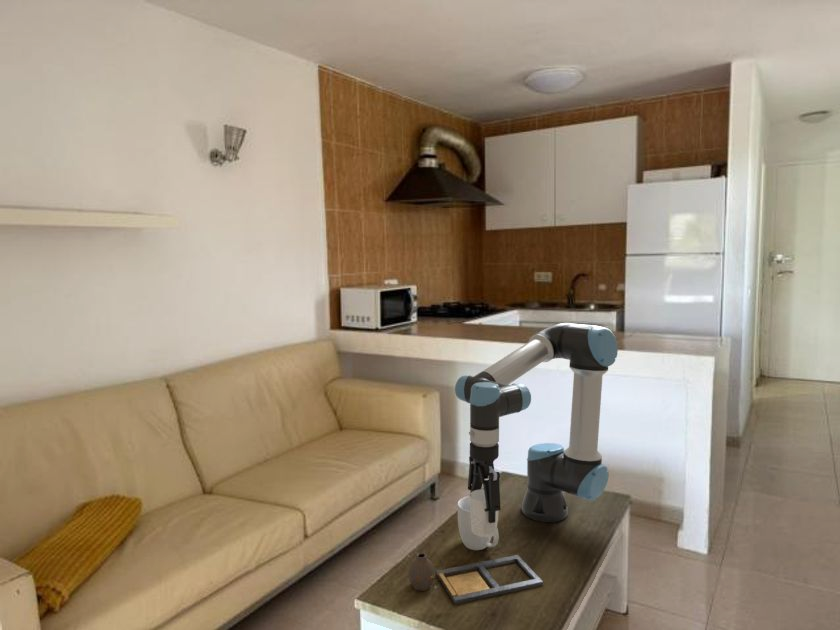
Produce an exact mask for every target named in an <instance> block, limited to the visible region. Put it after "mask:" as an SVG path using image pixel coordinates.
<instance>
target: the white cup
mask: <svg viewBox="0 0 840 630" xmlns="http://www.w3.org/2000/svg"><path fill="white" fill-rule="evenodd" d="M468 495H469V497H470V517H471V528H472V533H473V534H474V535H476V536H479V537H491V536H492V537H493V536H494V535H495V534H496V533H497V530H498V522H499V513H500V510H499V511H496V522H495V533H492V534H485V511H484V509H487V507H486V500H485V493H484V488H481V489H479V490H475V491H472V492H471V493H469V494H468Z"/></svg>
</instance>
